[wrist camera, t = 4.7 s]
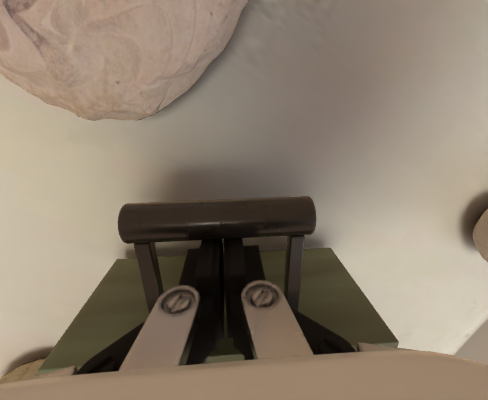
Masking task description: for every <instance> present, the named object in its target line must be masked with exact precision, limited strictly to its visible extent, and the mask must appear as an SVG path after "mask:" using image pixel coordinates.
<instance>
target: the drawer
mask: <svg viewBox="0 0 488 400" xmlns="http://www.w3.org/2000/svg"><path fill="white" fill-rule="evenodd" d="M315 226H316V211H315V206H314V203H313V200H312V199H311V197H309V196H296V197H272V198H247V199H223V200H198V201H174V202H149V203H127V204H125V205H123V206H122V208H121V210H120V213H119V217H118V230H119V235H120V237H121V239H122V241H123V242H125V243H127V244H131V243H135V244H134V248H135V253H136V257H137V258H128V259H117V260H116V261H115V263H114V264H113V266H112V267H111V268H110V270H109V271H108V273H107V274H106V275H105V277H104V278H103V280H102V281H101V282H100V284H99V285H98V287H97V288H96V289H95V291H94V292H93V294H92V295H91V296H90V298H89V299H88V301H87V302H86V303H85V305H84V306H83V308H82V309H81V310H80V312H79V313H78V315H77V316H76V317H75V319H74V320H73V322H72V323H71V324H70V326H69V327H68V329H67V330H66V331H65V333H64V334H63V336H62V337H61V338H60V340H59V341H58V343H57V344H56V345H55V347H54V348H53V350H52V351H51V352H50V354H49V355H48V357H47V358H46V359H45V361H44V362H43V364H42V365H41V366H40V368H39V370H38V371H39V373H40V375H43V374H46V373H50V372H53V371H57V370H60V369H64V368H67V367H71V366H74V365H76V366H77V369H78V368H81V367H82V366H83V365H84V364H85V363H86V362H87V361H88V360H90V359H91V358H92V357H93V356H95V355H96V354H98V353H99V352H101V351H102V350H104V349H105V348H106V347H108V346H109V345H111V344H112V343H114V342H115V341H117V340H118V339H119V338H121V337H122V336H124V335H125V334H127V333H128V332H130V331H131V330H133V329H134V328H135V327H137V326H138V325H140V324H141V323H143V322H144V321H146V320H147V318H148V316H149V314H150V312H151V311H152V309H153V307H154V305H155V303H156V302H157V300H158V298H159V297H160V296H161V294H162V293H164V292H165V291H166V290H168V289H170V288H172V287H175V286H178V285H179V282H180V278H181V274H182V271H183V267H184V263H185V259H186V256H187V255H184V256H165V257H157V252H156V247H155V242H170V241H190V240H210V239H230V238H250V237H270V236H287V244H286V250H277V251H260V256H261V261H262V265H263V270H264V274H265V279H266V281H270V282H272V283H275V284H276V285H277V286H279V288H280V289H281V290H282V292H283V294H284V296H285V298H286V300H287V302H288V304H289V306H290V307H291V308H293V309H295V310H296V311H298V312H300V313H302V314H303V315H305V316H307V317H308V318H310V319H312V320H314V321H315V322H317V323H319V324H320V325H322V326H324V327H325V328H327V329H329V330H331V331H332V332H334V333H336V334H337V335H339V336H341V337H342V338H344V339H345V340H346V341H348V342H349V343H350V344H351V345H354V346H357V344H358V342H360V343H367V344H374V345H381V346H388V347H396V348H397V346H398V343H399V342H398V340H397V339H396V337H395V336H394V335H393V333H392V332H391V331H390V329H389V328H388V326H387V325H386V324H385V322H384V321H383V319H382V318H381V317H380V315H379V314H378V313H377V311H376V310H375V308H374V307H373V306H372V304H371V303H370V302H369V300H368V299H367V297H366V296H365V295H364V293H363V292H362V291H361V289H360V288H359V286H358V285H357V284H356V282H355V281H354V280H353V278H352V277H351V275H350V274H349V273H348V271H347V270H346V269H345V267H344V266H343V264H342V263H341V262H340V260H339V259H338V257H337V256H336V255H335V253H334V252H333V251H332V249H331V248H314V249H304V241H305V235H310V234H312V233H313V232H314V230H315ZM223 254H224V253H223ZM231 361H244V357H243V355H242V354H241V353H240V352H239V351H238V350H237V349H235V348H234V346H233V338H229V339H228V332H227V318H226V304H225V293H224V339H219V341H218V349H215V350H214V351H213V352H212V353H211V354H210V355H209V356H208V363H219V362H231Z"/></svg>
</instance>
